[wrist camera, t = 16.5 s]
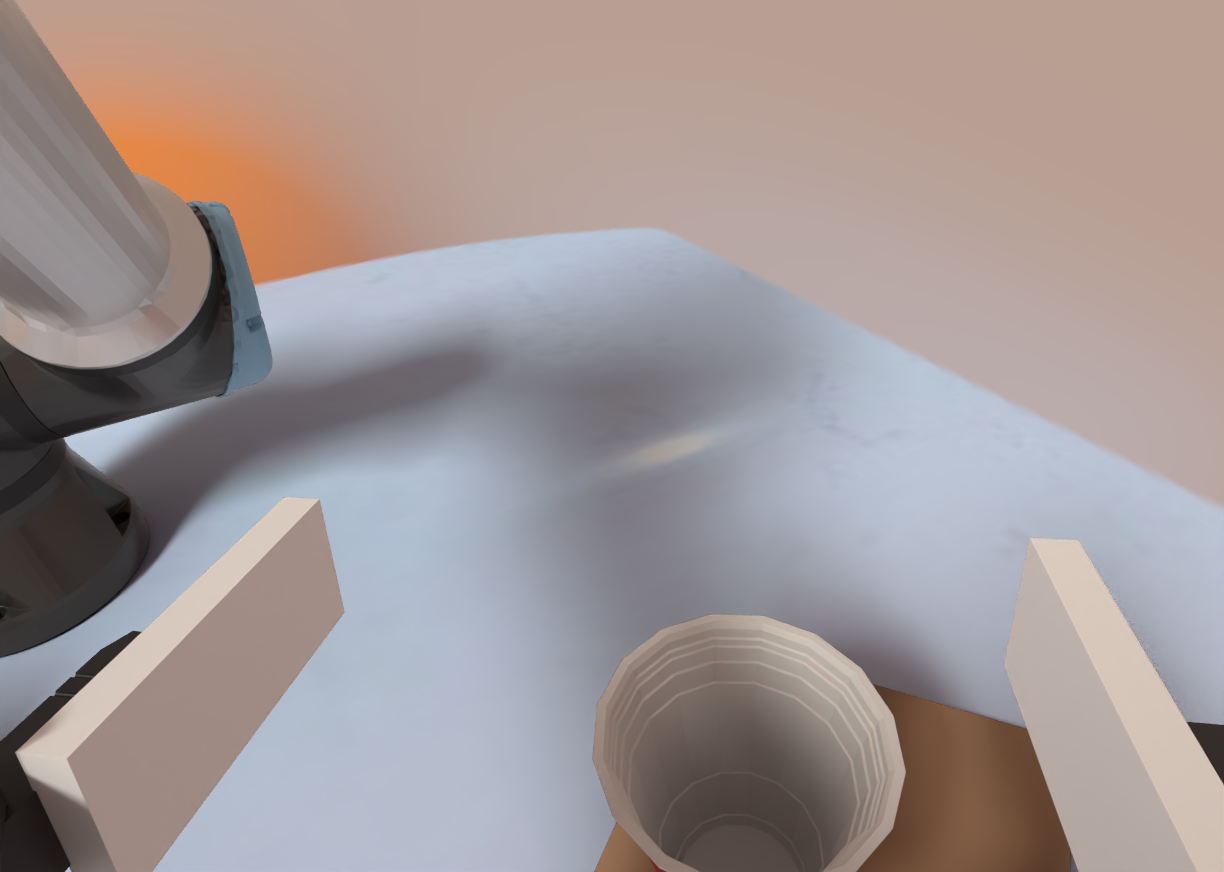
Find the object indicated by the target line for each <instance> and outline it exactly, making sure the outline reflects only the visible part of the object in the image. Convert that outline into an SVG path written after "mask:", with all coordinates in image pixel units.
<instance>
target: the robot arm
mask: <svg viewBox="0 0 1224 872" xmlns="http://www.w3.org/2000/svg"><path fill="white" fill-rule="evenodd" d="M271 368H272V353H271V348H270V344H269V340H268V336H267V332H266V329H265V325H264V322H263V319H262V316H261V311H260V307H259V303H258V298H257V295H256V291H255V287H254V284H253V280H252V277H251V274H250V270H249V267H248V264H247V260H246V257H245V254H244V250H243V247H242V244H241V241H240V238H239V234H238V231H237V229H236V225H235V222H234V220H233V217H232V216H231V214H230V211H229V210H228V208H227V207H226V206H225V205H224V204H222V203H219V202H204V203H203V202H200V201H192V202H189V203H185V202H184V201H183V200H182V199H181V198H180V197H179V196H178V195H176V194H175V193H174V192H172V191H171V190H170V189H168V188H167V187H165V186H163V185H162V184H160V183H158V182H156V181H154V180H152V179H150V178H148V177H145V176H143V175H139V174H137V173H133V172H131V170H130V169H129V167H128V166H127V164H126V163H125V161H124V160H123V159H122V157H121V156H120V154H119V153H118V151H117V150H116V148H115V147H114V145H113V144H112V142H111V141H110V139H109V138H108V137H107V135H106V134H105V132H104V131H103V129H102V128H101V126H100V125H99V123H98V122H97V120H96V119H95V117H94V116H93V114H92V113H91V111H90V110H89V109H88V107H87V106H86V104H85V103H84V101H83V100H82V98H81V97H80V95H79V94H78V92H77V91H76V89H75V88H74V87H73V85H72V84H71V82H70V81H69V79H68V78H67V76H66V75H65V73H64V72H63V70H62V69H61V67H60V66H59V64H58V63H57V61H56V60H55V59H54V57H53V56H52V54H51V53H50V51H49V50H48V48H47V47H46V45H45V44H44V43H43V41H42V39H41V38H40V37H39V35H38V34H37V32H36V31H35V29H34V28H33V26H32V25H31V23H30V22H29V20H28V19H27V18H26V16H25V14H24V13H23V12H22V10H21V9H20V7H19V6H18V4H17V3H16V1H15V0H0V657H1V656H5V655H9V654H12V653H15V652H18V651H21V650H24V649H27V648H29V647H32V646H34V645H37V644H39V643H42V642H44V641H46V640H48V639H50V638H52V637H54V636H56V635H58V634H60V633H62V632H64V631H66V630H67V629H69V628H71V627H72V626H74V625H76V624H77V623H79V622H81V621H82V620H84V619H85V618H87V617H88V616H89V615H91V614H92V613H94V612H95V611H96V610H98V609H99V608H100V607H102V606H103V605H104V604H105V603H106V602H108V601H109V600H110V599H111V598H112V597H113V596H114V595H115V594H116V593H117V592H118V591H119V590H120V589H121V588H122V587H123V586H124V585H125V584H126V583H127V582H128V581H129V579H130V578H131V577H132V576H133V574H134V573H135V572H136V570H137V569H138V567H139V565H140V564H141V562H142V560H143V558H144V556H145V554H146V551H147V548H148V544H149V538H150V533H149V527H148V524H147V522H146V520H145V518H144V516H143V514H142V513H141V511H140V509H139V508H138V506H137V504H136V503H135V501H134V500H133V498H132V497H131V496H130V495H129V494H128V493H127V492H126V491H125V490H124V489H123V488H121V487H120V486H119V485H117V484H116V483H115V482H113V481H112V480H111V479H110V478H108V477H107V476H106V475H104V474H103V473H102V472H100V471H99V470H98V469H97V468H95V467H94V466H93V465H91V464H90V463H89V462H87V461H86V460H85V459H84V458H82V457H81V456H80V455H78V454H77V453H76V452H75V451H73V450H72V449H71V448H70V447H69V446H68V445H67V443H66V442H65V440H64V437H68V436H71V435H74V434H78V433H81V432H85V431H89V430H92V429H96V428H100V427H103V426H107V425H111V424H114V423H118V422H122V421H125V420H129V419H133V418H136V417H140V416H144V415H147V414H151V413H155V412H158V411H162V410H166V409H169V408H173V407H177V406H180V405H184V404H188V403H191V402H195V401H199V400H202V399H206V398H210V397H213V396H216V397H222V396H227V395H230V394H231V393H232V392H233V391H234V390H236V389H239V388H242V387H246V386H249V385H252V384H255V383H258V382H260V381H261V380H263V379H264V378H265V377H266V376H267V375H268V374H269V372H270V370H271ZM343 614H344V607H343V603H342V598H341V594H340V589H339V585H338V580H337V576H336V571H335V567H334V562H333V558H332V553H331V549H330V544H329V540H328V536H327V531H326V527H325V522H324V518H323V513H322V509H321V504H320V500H319V499H307V498H289V497H284V498H283V499H282V500H281V501H280V502H278V503H277V504H276V505H275V506H274V507H273V508H272V509H271V510H270V511H269V512H268V513H267V514H266V515H265V516H264V517H263V518H262V519H261V520H260V521H258V522H257V523H256V524H255V525H254V526H253V527H252V528H251V529H250V530H249V531H248V532H247V533H246V534H245V535H244V536H243V537H242V538H241V539H239V540H238V541H237V542H236V543H235V544H234V545H233V546H232V547H231V548H230V549H229V550H228V551H227V552H226V553H225V554H224V555H223V556H222V557H221V558H219V559H218V560H217V561H216V562H215V563H214V564H213V565H212V566H211V567H210V568H209V569H208V570H207V571H206V572H205V573H204V574H203V575H202V576H200V577H199V578H198V579H197V580H196V581H195V582H194V583H193V584H192V585H191V586H190V587H189V588H188V589H187V590H186V591H185V592H184V593H183V594H182V595H180V596H179V597H178V598H177V599H176V600H175V601H174V602H173V603H172V604H171V605H170V606H169V607H168V608H167V609H166V610H165V611H164V612H163V613H162V614H160V615H159V616H158V617H157V618H156V619H155V620H154V621H153V622H152V623H151V624H150V625H149V626H148V627H147V628H146V629H145V630H144V631H143V632H138V631H132V632H130V633H129V634H127V635H125V636H123V637H122V638H120V639H118V640H117V641H115V642H113V643H112V644H110V645H108V646H106V647H105V648H103V649H101V650H100V651H99V652H98V653H97V654H96V655H94V656H93V657H92V658H91V659H90V660H89V661H88V662H87V663H86V664H85V665H84V666H82V667H81V668H80V669H79V670H78V671H77V672H76V675H75V677H70V678H69V679H68V680H67V681H66V682H65V683H64V684H63V685H62V686H61V687H60V688H58V689H57V690H56V693H55V695H54V696H50V697H49V698H48V699H46V700H45V701H44V702H43V703H42V704H41V705H40V706H39V707H38V708H37V709H36V710H34V711H33V712H32V713H31V714H30V715H29V716H28V717H27V718H26V719H25V720H24V721H22V722H21V723H20V724H19V725H18V726H17V727H16V728H15V729H14V730H13V731H12V732H10V733H9V734H8V735H7V736H6V737H5V738H4V739H3V740H2V741H1V742H0V872H65V871H66V870H67V868H68V867H70V869H71V871H72V872H152V871H153V870H154V868H155V867H156V866H157V864H158V863H159V862H160V860H161V859H162V858H163V856H164V855H165V854H166V852H167V851H168V850H169V848H170V847H171V846H172V844H173V843H174V841H175V840H176V839H177V837H178V836H179V835H180V833H181V832H182V831H183V829H184V828H185V827H186V825H187V824H188V823H189V821H190V820H191V819H192V817H193V816H194V814H195V813H196V812H197V810H198V809H199V808H200V806H201V805H202V804H203V802H204V801H205V800H206V798H207V797H208V796H209V794H210V793H211V792H212V790H213V789H214V788H215V786H216V785H217V783H218V782H219V781H220V779H221V778H222V777H223V775H224V774H225V773H226V771H227V770H228V769H229V767H230V766H231V765H232V763H233V762H234V761H235V759H236V758H237V756H238V755H239V754H240V752H241V751H242V750H243V748H244V747H245V746H246V744H247V743H248V742H249V740H250V739H251V738H252V736H253V735H254V734H255V732H256V731H257V730H258V728H259V727H260V725H261V724H262V723H263V721H264V720H265V719H266V717H267V716H268V715H269V713H270V712H271V711H272V709H273V708H274V707H275V705H276V704H277V703H278V701H279V700H280V698H281V697H282V696H283V694H284V693H285V692H286V690H287V689H288V688H289V686H290V685H291V684H292V682H293V681H294V680H295V678H296V677H297V676H298V674H299V673H300V672H301V670H302V669H303V667H304V666H305V665H306V663H307V662H308V661H309V659H310V658H311V657H312V655H313V654H314V653H315V651H316V650H317V649H318V647H319V646H320V645H321V643H322V642H323V640H324V639H325V638H326V636H327V635H328V634H329V632H330V631H331V630H332V628H333V627H334V626H335V624H336V623H337V622H338V620H339V619H340V618H341V616H342V615H343ZM1004 666H1005V669H1006V672H1007V675H1008V677H1009V680H1010V683H1011V686H1012V688H1013V691H1014V694H1015V697H1016V700H1017V702H1018V705H1019V708H1020V711H1021V713H1022V716H1023V719H1024V722H1025V724H1026V727H1027V730H1028V733H1029V736H1030V738H1031V741H1032V744H1033V747H1034V749H1035V752H1036V755H1037V758H1038V761H1039V763H1040V766H1041V769H1042V772H1043V774H1044V777H1045V780H1046V783H1047V786H1048V788H1049V791H1050V794H1051V797H1052V799H1053V802H1054V805H1055V808H1056V811H1057V813H1058V816H1059V819H1060V822H1061V824H1062V827H1063V830H1064V833H1065V835H1066V838H1067V841H1068V844H1069V847H1070V849H1071V852H1072V855H1073V858H1074V860H1075V863H1076V866H1077V869H1078V872H1224V725H1216V724H1205V723H1194V722H1186V721H1185V719H1184V717H1183V716H1182V714H1181V712H1180V711H1179V709H1178V707H1177V706H1176V704H1175V702H1174V700H1173V699H1172V697H1171V695H1170V694H1169V692H1168V690H1167V689H1166V687H1165V685H1164V684H1163V682H1162V680H1161V679H1160V677H1159V675H1158V674H1157V672H1156V670H1155V669H1154V667H1153V665H1152V663H1151V662H1150V660H1149V658H1148V657H1147V655H1146V653H1145V652H1144V650H1143V648H1142V647H1141V645H1140V643H1139V642H1138V640H1137V638H1136V637H1135V635H1134V633H1133V631H1132V630H1131V628H1130V626H1129V625H1128V623H1127V621H1126V620H1125V618H1124V616H1123V615H1122V613H1121V611H1120V610H1119V608H1118V606H1117V605H1116V603H1115V601H1114V600H1113V598H1112V596H1111V594H1110V593H1109V591H1108V589H1107V588H1106V586H1105V584H1104V583H1103V581H1102V579H1101V578H1100V576H1099V574H1098V573H1097V571H1096V569H1095V568H1094V566H1093V564H1092V563H1091V561H1090V559H1089V557H1088V556H1087V554H1086V552H1085V551H1084V549H1083V547H1082V546H1081V544H1080V542H1079V541H1077V540H1059V539H1041V538H1030V539H1029V544H1028V549H1027V554H1026V559H1025V564H1024V569H1023V574H1022V579H1021V584H1020V588H1019V593H1018V598H1017V603H1016V608H1015V613H1014V618H1013V623H1012V628H1011V633H1010V637H1009V642H1008V647H1007V652H1006V657H1005V662H1004Z"/></svg>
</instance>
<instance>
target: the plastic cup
mask: <svg viewBox="0 0 1224 872" xmlns="http://www.w3.org/2000/svg"><path fill="white" fill-rule="evenodd" d="M593 761H594V764H595V767H596V770H597V773H598V776H599V779H600V781H601V784H602V787H603V790H604V793H605V796H606V799H607V802H608V804H609V807H610V810H611V813H612V816H613V817H614V818H615V820H616V821H617V822H618V823H619V824H620V825H621V826H622V827H623V829H624V830H625V831H626V832H627V833H628V834H629V835H630V836H631V837H632V838H633V840H634V841H635V842H636V843H637V844H638V845H639V846H640V847H641V848H642V850H643V851H644V852H645V853H646V854H647V855H648V856H649V858H650V860H651V862H652V864H653V866H654V869H655V871H656V872H856V871H857V870H858V869H859V867H860V866H861V865H862V864H863V863H864V862H865V861H866V859H867V858H868V857H869V856H870V855H871V854H872V852H873V851H874V850H875V849H876V848H877V847H878V845H879V844H880V843H881V842H882V841H883V840H884V839H885V837H886V836H887V835H888V834H889V833H890V832H891V830H892V829H893V826H894V821H895V817H896V813H897V808H898V804H899V800H900V795H901V791H902V787H903V782H904V778H905V774H906V771H905V766H904V762H903V757H902V752H901V748H900V743H899V739H898V734H897V730H896V725H895V720H894V716H893V714H892V713H891V711H890V710H889V708H888V707H887V705H886V704H885V703H884V701H883V700H882V698H881V697H880V695H879V694H878V692H877V691H876V689H875V688H874V686H873V685H872V683H871V682H870V680H869V679H868V677H867V676H866V674H865V673H864V671H863V670H862V669H861V668H860V667H859V666H858V665H856V664H855V663H854V662H852V661H851V660H850V659H848V658H847V657H846V656H844V655H843V654H842V653H840V652H839V651H838V650H836V649H835V648H834V647H832V646H831V645H830V644H828V643H827V642H826V641H824V640H823V639H822V638H820V637H819V636H818V635H816V634H814V633H811V632H808V631H806V630H803V629H800V628H797V627H794V626H791V625H788V624H786V623H783V622H780V621H777V620H774V619H771V618H769V617H766V616H752V615H720V614H710V615H707V616H703V617H700V618H697V619H693V620H690V621H687V622H684V623H680V624H677V625H674V626H670V627H667V628H664V629H661V630H660V631H659V632H657V633H656V634H655V635H654V636H652V637H651V638H650V639H648V640H647V641H646V642H644V643H643V644H642V645H641V646H639V647H638V648H637V649H635V650H634V651H633V652H632V653H630V654H629V655H628V656H626V657H625V658H624V659H622V661H621V663H620V664H619V666H618V668H617V670H616V672H615V673H614V675H613V677H612V679H611V680H610V682H609V684H608V686H607V688H606V689H605V691H604V693H603V695H602V697H601V698H600V700H599V702H598V704H597V712H596V724H595V735H594V747H593Z"/></svg>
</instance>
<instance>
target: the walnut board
mask: <svg viewBox="0 0 1224 872" xmlns="http://www.w3.org/2000/svg"><path fill="white" fill-rule="evenodd" d="M872 685H873V686H874V688H875V689H876V691H877V692H878V694H879V695H880V697H881V698H882V700H883V701H884V703H885V704H886V705H887V707H888V708H889V710H890V711H891V713H892V714H893V716H894V720H895V725H896V730H897V734H898V739H899V743H900V748H901V752H902V757H903V762H904V766H905V771H906V774H905V778H904V782H903V787H902V791H901V795H900V800H899V804H898V808H897V813H896V817H895V821H894V826H893V829H892V830H891V832H890V833H889V834H888V835H887V836H886V837H885V839H884V840H883V841H882V842H881V843H880V844H879V845H878V847H877V848H876V849H875V850H874V851H873V852H872V854H871V855H870V856H869V857H868V858H867V859H866V861H865V862H864V863H863V864H862V865H861V866H860V867H859V869H858V870H857V871H856V872H1070V855H1071V849H1070V847H1069V844H1068V841H1067V838H1066V835H1065V833H1064V830H1063V827H1062V824H1061V822H1060V819H1059V816H1058V813H1057V811H1056V808H1055V805H1054V802H1053V799H1052V797H1051V794H1050V791H1049V788H1048V786H1047V783H1046V780H1045V777H1044V774H1043V772H1042V769H1041V766H1040V763H1039V761H1038V758H1037V755H1036V752H1035V749H1034V747H1033V744H1032V741H1031V738H1030V736H1029V733H1028V730H1027V729H1024V728H1020V727H1017V726H1014V725H1010V724H1007V723H1003V722H1000V721H997V720H993V719H990V718H986V717H983V716H979V715H976V714H973V713H969V712H966V711H962V710H959V709H956V708H952V707H949V706H945V705H942V704H939V703H935V702H932V701H928V700H925V699H921V698H918V697H915V696H911V695H908V694H904V693H901V692H898V691H894V690H891V689H887V688H884V687H881V686H877V685H874V684H872ZM594 872H656V871H655V869H654V866H653V864H652V862H651V860H650V858H649V856H648V855H647V854H646V853H645V852H644V851H643V850H642V848H641V847H640V846H639V845H638V844H637V843H636V842H635V841H634V840H633V838H632V837H631V836H630V835H629V834H628V833H627V832H626V831H625V830H624V829H623V827H622V826H621V825H620V824H619V823H618V822H617V823H616V825H615V827H614V829H613V831H612V834H611V836H610V838H609V840H608V842H607V845H606V847H605V849H604V851H603V853H602V856H601V858H600V860H599V862H598V864H597V867H596V869H595V871H594Z"/></svg>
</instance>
